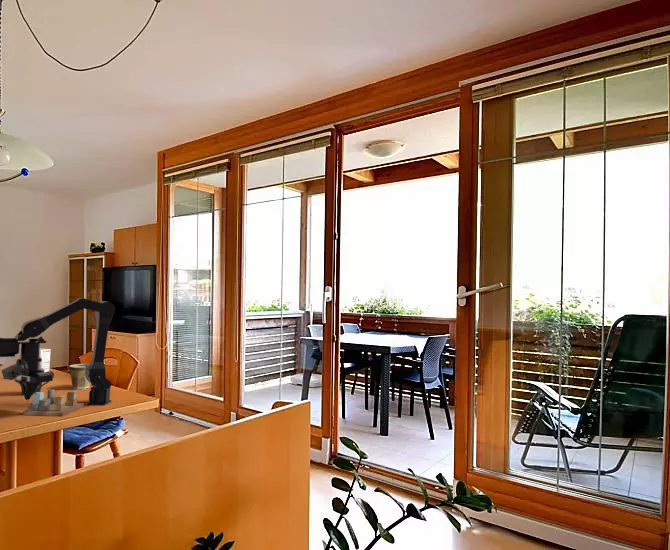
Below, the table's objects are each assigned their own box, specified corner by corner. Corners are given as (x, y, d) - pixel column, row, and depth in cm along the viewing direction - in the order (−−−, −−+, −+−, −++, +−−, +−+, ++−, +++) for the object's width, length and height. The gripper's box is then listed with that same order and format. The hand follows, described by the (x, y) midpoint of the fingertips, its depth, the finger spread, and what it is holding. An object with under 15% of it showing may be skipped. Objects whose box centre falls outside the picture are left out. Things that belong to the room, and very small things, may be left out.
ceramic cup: (93, 389, 208) (94, 366, 208) (67, 391, 203) (69, 367, 204) (93, 384, 219) (94, 362, 220) (68, 385, 215) (69, 363, 215)
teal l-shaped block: (43, 404, 173) (44, 389, 173) (50, 404, 173) (51, 389, 173) (31, 409, 166) (32, 393, 166) (39, 409, 166) (40, 393, 166)
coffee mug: (15, 396, 191) (16, 371, 191) (23, 391, 199) (24, 368, 199) (47, 395, 194) (48, 371, 194) (53, 391, 202) (55, 367, 202)
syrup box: (29, 379, 224) (31, 349, 225) (40, 377, 230) (42, 347, 230) (38, 380, 223) (40, 349, 223) (49, 378, 228) (51, 348, 229)
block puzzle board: (83, 406, 178) (84, 389, 178) (62, 416, 164) (63, 397, 164) (47, 405, 178) (48, 387, 178) (22, 414, 164) (23, 395, 165)
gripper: (-10, 356, 166) (-13, 400, 166) (23, 360, 158) (20, 407, 158) (22, 352, 176) (19, 394, 176) (55, 357, 169) (52, 401, 168)
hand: (27, 399), depth 169 cm, fingers closed
